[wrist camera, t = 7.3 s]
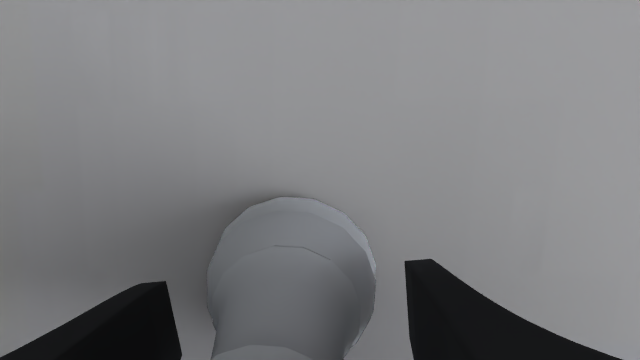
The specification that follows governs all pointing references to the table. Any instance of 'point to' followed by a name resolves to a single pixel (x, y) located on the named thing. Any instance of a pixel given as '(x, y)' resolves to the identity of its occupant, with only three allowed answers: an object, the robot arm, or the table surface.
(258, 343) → the rook chess piece
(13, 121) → the table surface
